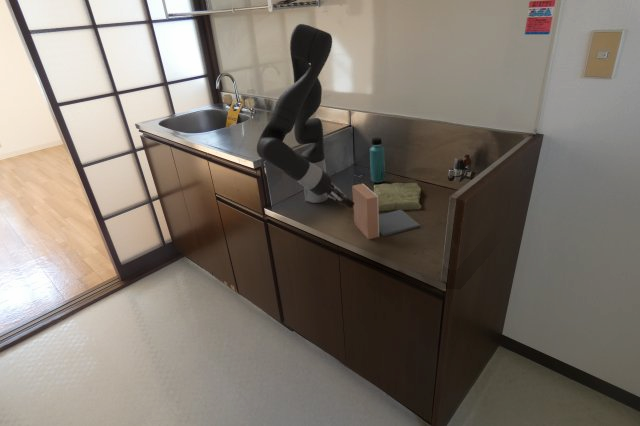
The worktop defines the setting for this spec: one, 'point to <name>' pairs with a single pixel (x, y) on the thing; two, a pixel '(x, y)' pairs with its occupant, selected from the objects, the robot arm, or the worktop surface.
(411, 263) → the worktop surface
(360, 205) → the terracotta tile
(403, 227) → the mat
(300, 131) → the robot arm
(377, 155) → the beverage bottle
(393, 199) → the decorative tile
